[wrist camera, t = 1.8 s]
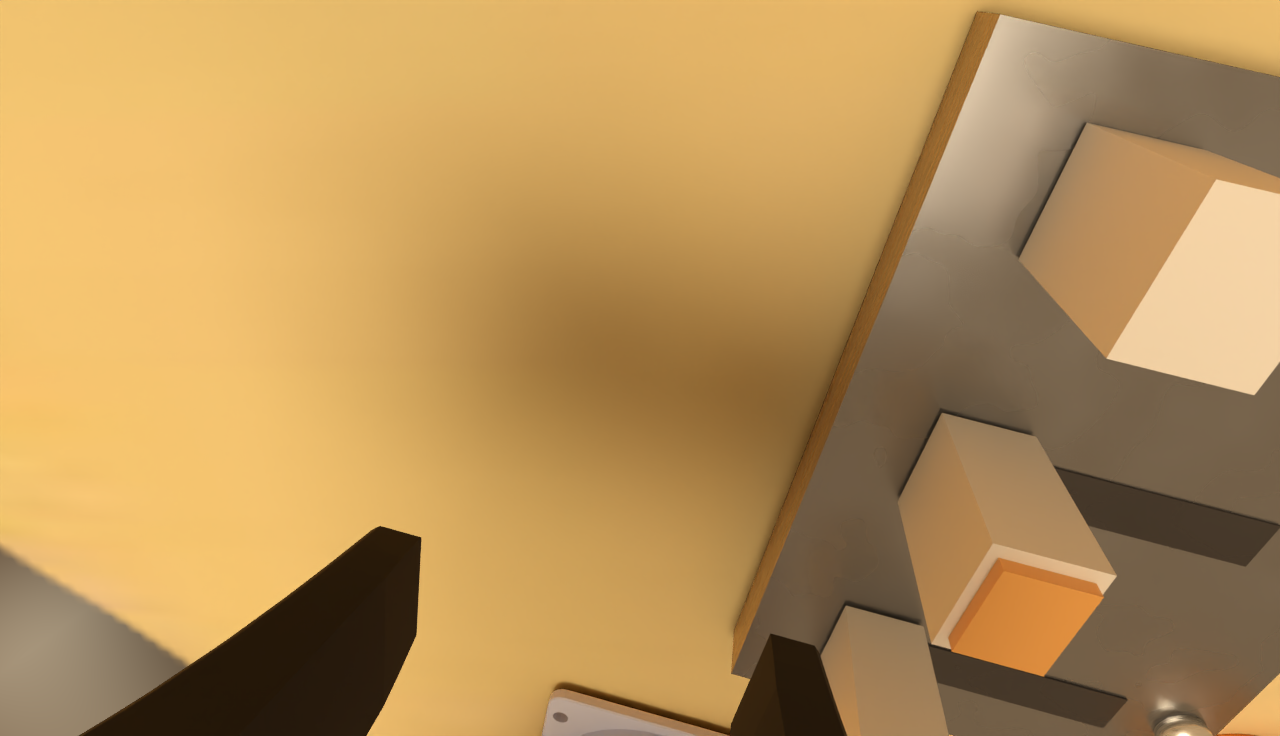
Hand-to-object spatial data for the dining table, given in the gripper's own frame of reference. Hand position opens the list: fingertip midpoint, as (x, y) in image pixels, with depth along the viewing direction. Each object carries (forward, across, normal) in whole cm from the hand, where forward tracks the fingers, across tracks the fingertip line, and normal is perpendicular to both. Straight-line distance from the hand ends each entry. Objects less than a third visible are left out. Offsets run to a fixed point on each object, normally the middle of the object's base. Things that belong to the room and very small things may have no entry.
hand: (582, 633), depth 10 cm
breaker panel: (+8, -10, 0) cm, 13 cm away
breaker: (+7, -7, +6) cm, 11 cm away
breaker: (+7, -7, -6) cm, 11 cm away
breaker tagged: (+7, -7, 0) cm, 10 cm away
